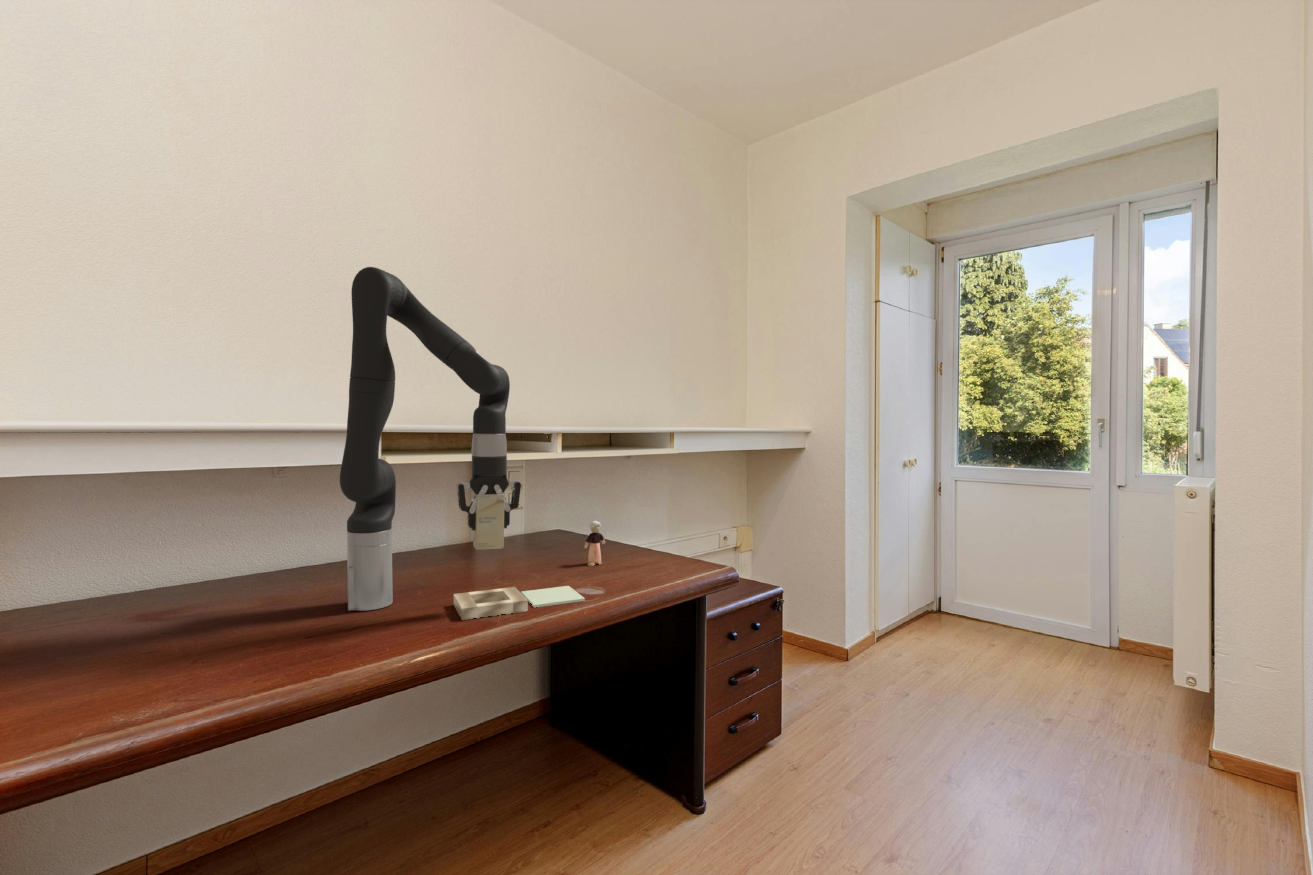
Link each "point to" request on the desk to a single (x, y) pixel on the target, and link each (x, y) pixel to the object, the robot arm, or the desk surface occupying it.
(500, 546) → the skincare box
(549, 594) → the pad
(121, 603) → the desk surface
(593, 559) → the grandmother figurine
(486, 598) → the pocket holder
